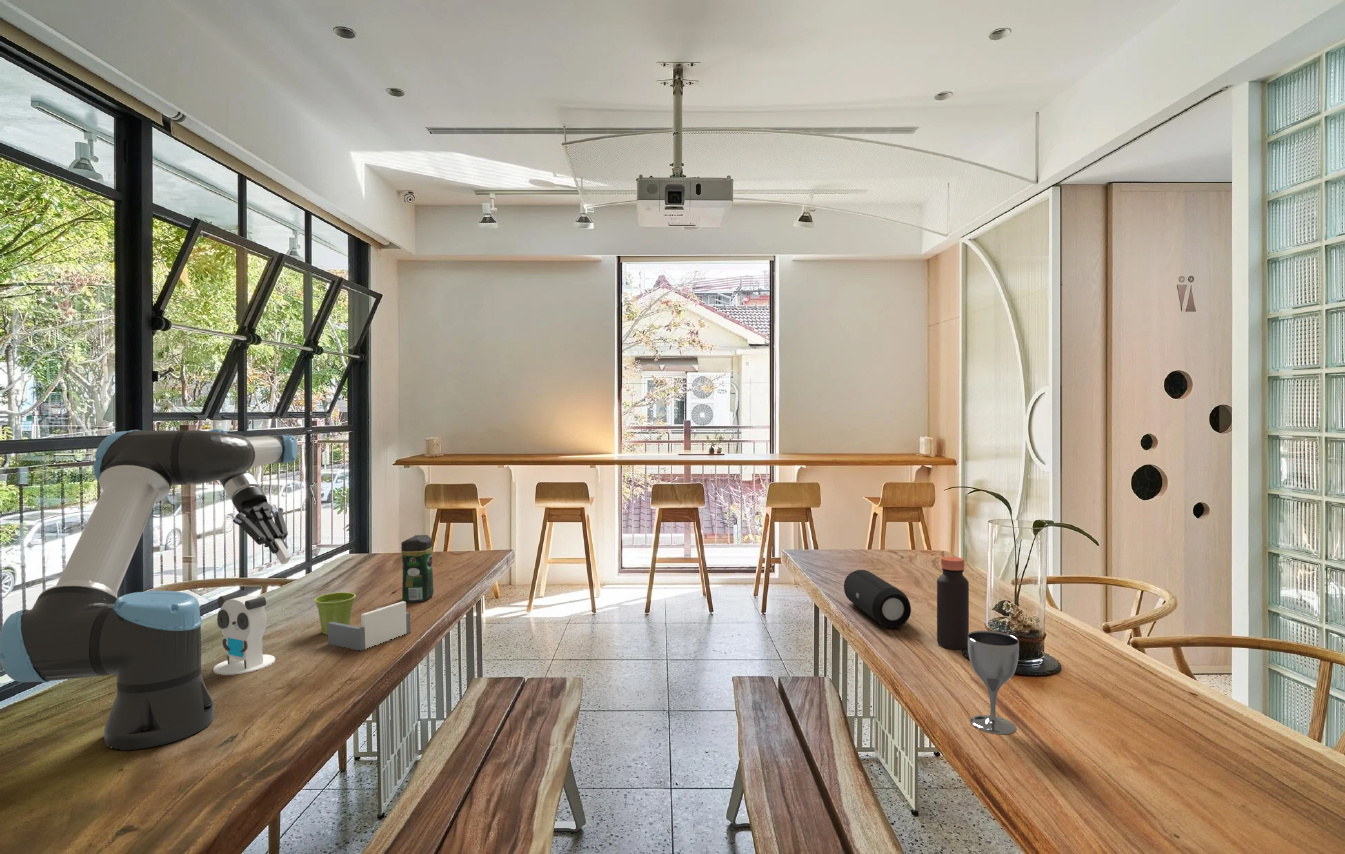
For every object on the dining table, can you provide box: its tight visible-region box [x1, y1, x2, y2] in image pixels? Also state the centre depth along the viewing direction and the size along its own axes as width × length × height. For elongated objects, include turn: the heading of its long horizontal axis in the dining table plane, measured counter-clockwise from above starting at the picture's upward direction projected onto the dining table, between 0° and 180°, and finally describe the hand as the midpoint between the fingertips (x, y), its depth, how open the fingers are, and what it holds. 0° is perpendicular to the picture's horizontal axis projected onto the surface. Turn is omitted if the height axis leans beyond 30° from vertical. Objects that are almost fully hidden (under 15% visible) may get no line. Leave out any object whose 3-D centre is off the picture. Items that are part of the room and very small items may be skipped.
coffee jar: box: [400, 534, 434, 603], centre depth 199 cm, size 10×8×19 cm
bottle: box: [936, 556, 970, 650], centre depth 155 cm, size 7×7×20 cm
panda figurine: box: [213, 592, 276, 676], centre depth 147 cm, size 12×11×15 cm
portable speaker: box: [843, 569, 912, 628], centre depth 179 cm, size 26×10×10 cm, turn 5°
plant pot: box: [313, 591, 357, 636], centre depth 169 cm, size 9×9×9 cm
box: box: [327, 600, 411, 652], centre depth 164 cm, size 14×11×8 cm
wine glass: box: [967, 630, 1020, 735], centre depth 116 cm, size 8×8×15 cm
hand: (286, 560), depth 178 cm, fingers closed
